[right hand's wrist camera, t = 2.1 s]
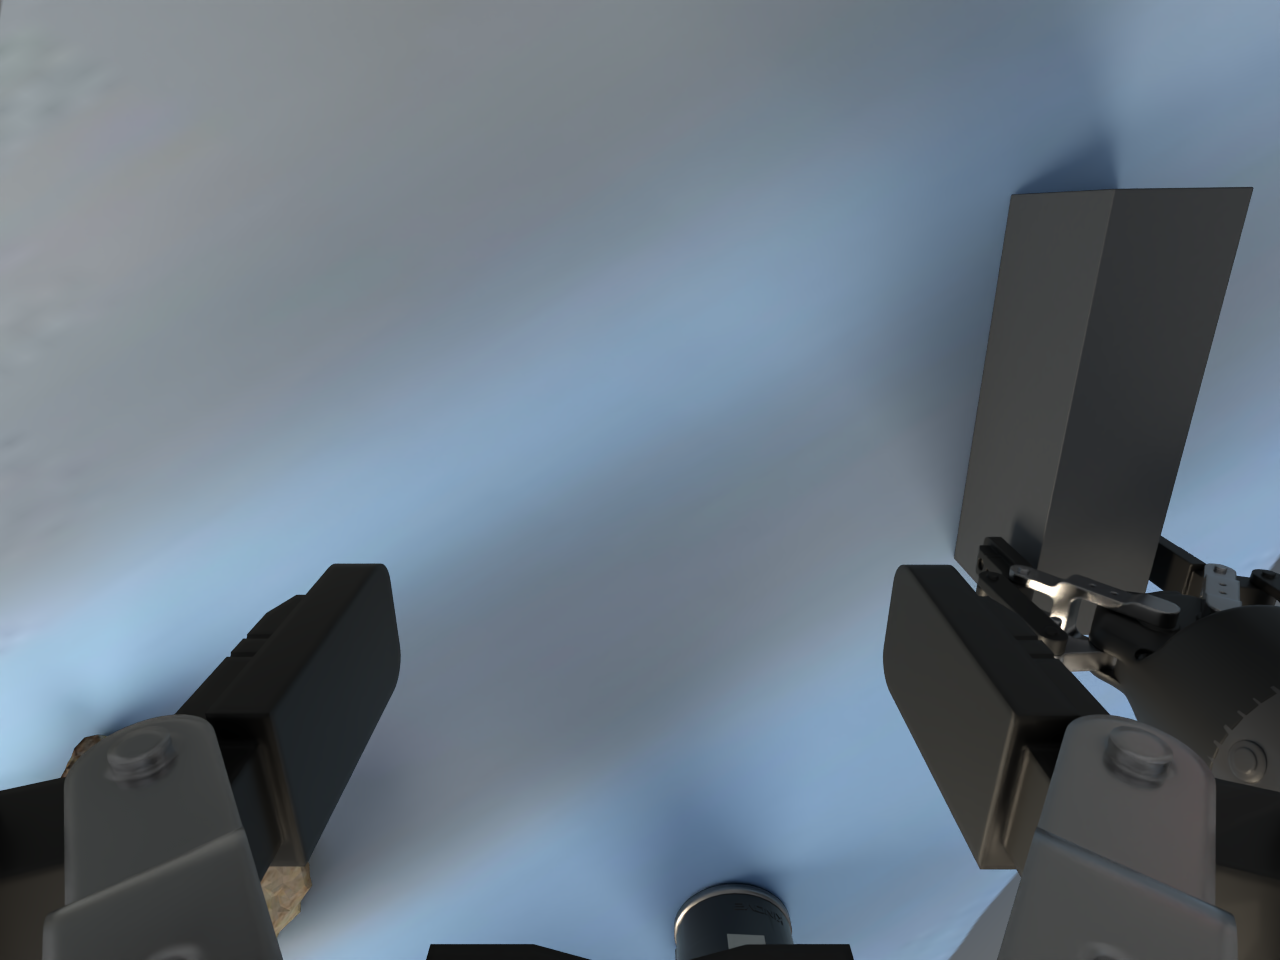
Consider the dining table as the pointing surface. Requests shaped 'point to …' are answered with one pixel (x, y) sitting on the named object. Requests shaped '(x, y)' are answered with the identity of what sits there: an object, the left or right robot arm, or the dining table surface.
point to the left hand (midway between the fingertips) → (1066, 551)
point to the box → (1095, 376)
